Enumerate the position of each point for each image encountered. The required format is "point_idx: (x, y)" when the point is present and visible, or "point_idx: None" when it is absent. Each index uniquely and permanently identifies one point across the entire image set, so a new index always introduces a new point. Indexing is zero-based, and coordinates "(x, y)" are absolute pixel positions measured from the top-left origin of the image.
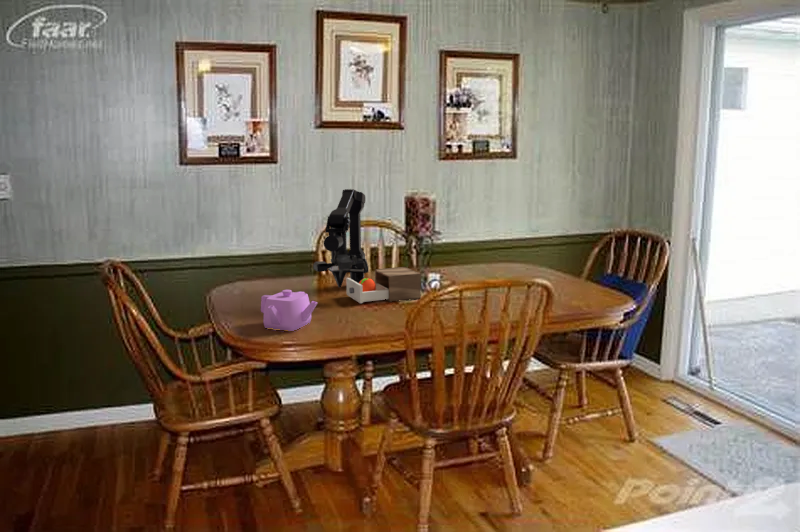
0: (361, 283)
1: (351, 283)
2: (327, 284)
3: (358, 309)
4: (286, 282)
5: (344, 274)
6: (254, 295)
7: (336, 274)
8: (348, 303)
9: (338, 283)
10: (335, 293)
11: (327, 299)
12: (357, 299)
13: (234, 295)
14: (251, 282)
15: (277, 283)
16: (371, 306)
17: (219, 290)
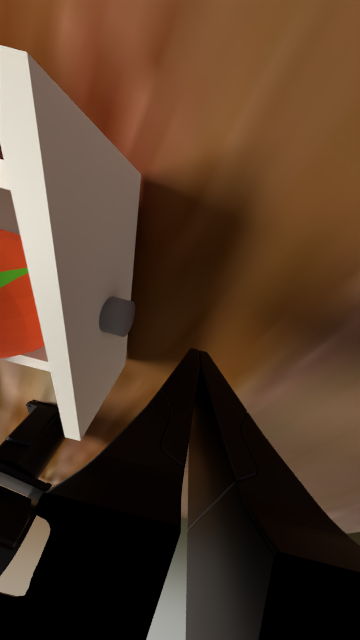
0: (4, 277)
1: (86, 362)
2: None
3: (213, 55)
4: (187, 502)
5: (129, 456)
6: (326, 493)
7: (315, 523)
8: (176, 268)
9: (218, 372)
10: (141, 405)
11: None
12: (131, 230)
13: (356, 511)
14: None
15: None
16: (91, 92)
17: None
